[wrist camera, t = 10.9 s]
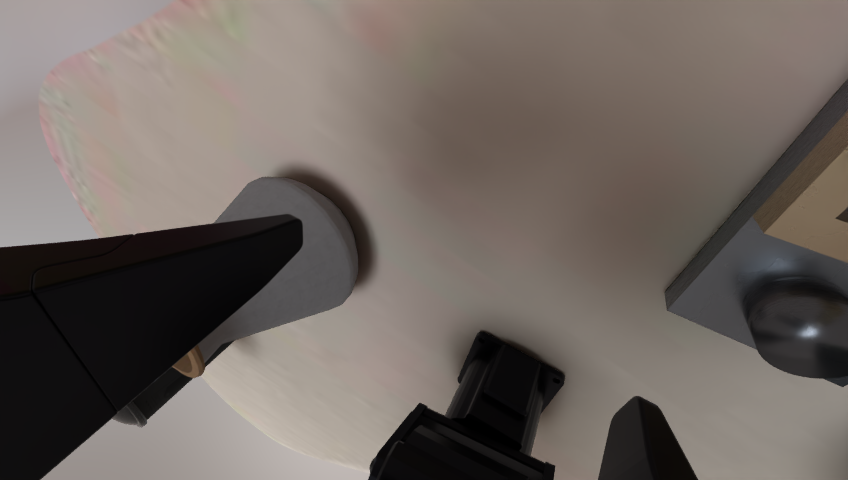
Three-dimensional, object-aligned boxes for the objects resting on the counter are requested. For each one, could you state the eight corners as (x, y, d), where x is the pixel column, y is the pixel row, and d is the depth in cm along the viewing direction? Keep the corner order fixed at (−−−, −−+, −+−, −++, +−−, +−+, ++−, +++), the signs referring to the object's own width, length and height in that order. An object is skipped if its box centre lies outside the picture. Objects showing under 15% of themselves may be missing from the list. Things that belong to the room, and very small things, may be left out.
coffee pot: (322, 140, 24) (36, 239, 12) (400, 277, 26) (227, 461, 15) (208, 222, 37) (17, 308, 25) (268, 308, 39) (122, 420, 28)
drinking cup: (227, 288, 42) (0, 432, 27) (263, 337, 44) (69, 498, 29) (205, 297, 47) (0, 424, 31) (238, 340, 48) (59, 480, 33)
